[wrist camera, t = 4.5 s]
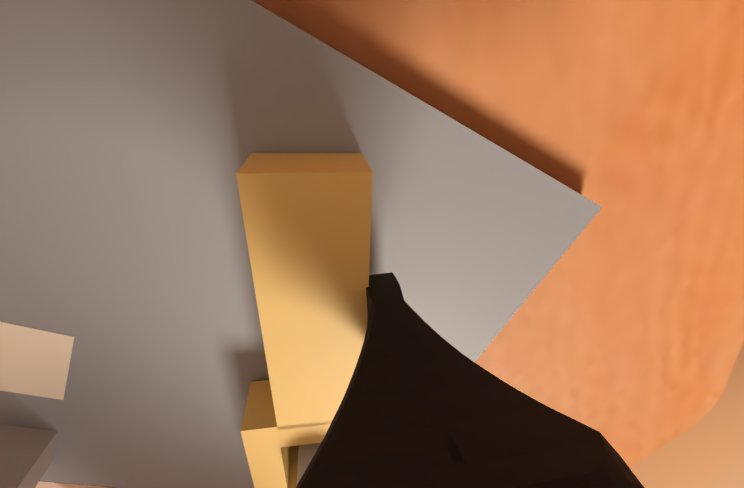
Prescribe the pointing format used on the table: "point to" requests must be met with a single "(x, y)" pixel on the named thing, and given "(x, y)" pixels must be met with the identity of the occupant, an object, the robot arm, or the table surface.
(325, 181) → the link
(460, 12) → the table surface
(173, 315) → the pintle board
